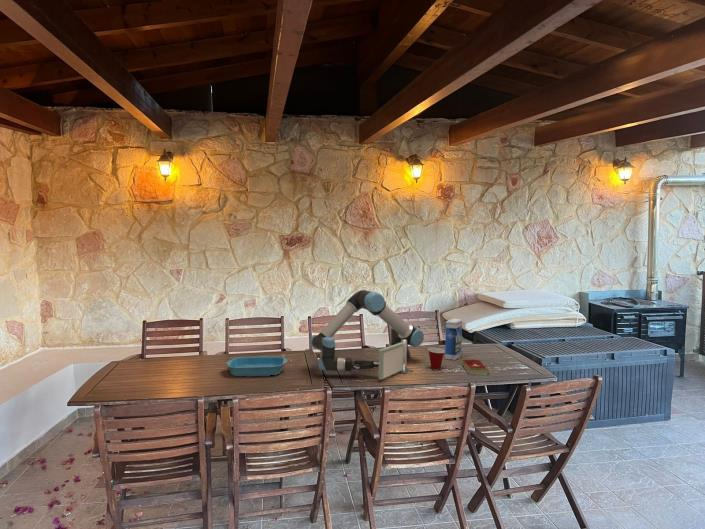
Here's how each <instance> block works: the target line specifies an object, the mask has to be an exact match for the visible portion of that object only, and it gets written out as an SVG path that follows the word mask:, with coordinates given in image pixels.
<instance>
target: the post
mask: <svg viewBox="0 0 705 529" xmlns="http://www.w3.org/2000/svg"><path fill="white" fill-rule="evenodd" d="M401 343H403V370H401V371H399V372H401V373H400V374H403V373H404V374H403V375H405V373H406V374H409V373H411V371H412V372H413V371H414V369H410V368H407V367H408V366H407V365H408V364H407V359H408V358H407V340H406V339H402V340H401ZM399 372H398V373H399ZM408 372H409V373H408Z"/></svg>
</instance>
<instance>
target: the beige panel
mask: <svg viewBox="0 0 705 529" xmlns="http://www.w3.org/2000/svg"><path fill="white" fill-rule="evenodd" d="M378 363H379V368H378V378H377V379H379V380H384V379H385V378H387V377H390V376H392V375H394V374H397V373H399V371H401V370H403V343H398V344H395V345H392V346H391V345H388V346H387V347H383V348H381V349H378Z"/></svg>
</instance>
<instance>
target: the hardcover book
mask: <svg viewBox="0 0 705 529" xmlns="http://www.w3.org/2000/svg"><path fill="white" fill-rule="evenodd" d="M460 360H461V366H462V365H463V366H464V367H463V366H462V367H463V368H464V369H466V370H467V371H466V370H465V371H466V373H467V374H468V375H487V374H488V375H489V368H488V367H487V366H485V364H484V363H483V362H482V361H481V359H477V358H476V359H474V358H473V359H472V358H470V359H466V358H461V359H460Z"/></svg>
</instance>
